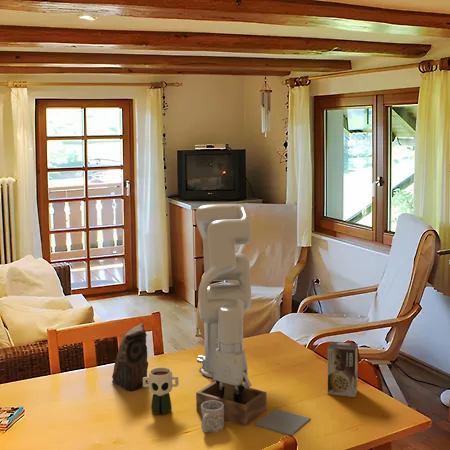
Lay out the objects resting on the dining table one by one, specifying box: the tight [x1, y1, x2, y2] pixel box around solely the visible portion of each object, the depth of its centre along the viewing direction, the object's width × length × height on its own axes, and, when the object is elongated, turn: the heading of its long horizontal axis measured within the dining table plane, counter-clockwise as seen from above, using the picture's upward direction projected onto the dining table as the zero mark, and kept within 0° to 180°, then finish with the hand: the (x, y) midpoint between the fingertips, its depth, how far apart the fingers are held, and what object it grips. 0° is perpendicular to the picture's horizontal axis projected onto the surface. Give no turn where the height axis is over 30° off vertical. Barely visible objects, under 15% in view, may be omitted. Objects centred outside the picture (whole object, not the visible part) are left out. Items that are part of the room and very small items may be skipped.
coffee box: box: [327, 340, 359, 398], centre depth 208 cm, size 9×6×16 cm
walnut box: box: [195, 380, 268, 427], centre depth 197 cm, size 18×12×6 cm, turn 56°
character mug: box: [142, 366, 180, 415], centre depth 196 cm, size 11×7×13 cm, turn 91°
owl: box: [111, 322, 149, 392], centre depth 216 cm, size 13×13×20 cm
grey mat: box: [254, 408, 311, 437], centre depth 189 cm, size 12×12×1 cm
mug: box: [200, 401, 225, 433], centre depth 185 cm, size 10×7×7 cm, turn 157°
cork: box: [223, 383, 235, 402], centre depth 196 cm, size 6×6×11 cm
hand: (231, 402), depth 197 cm, fingers closed on cork, 4 cm apart
